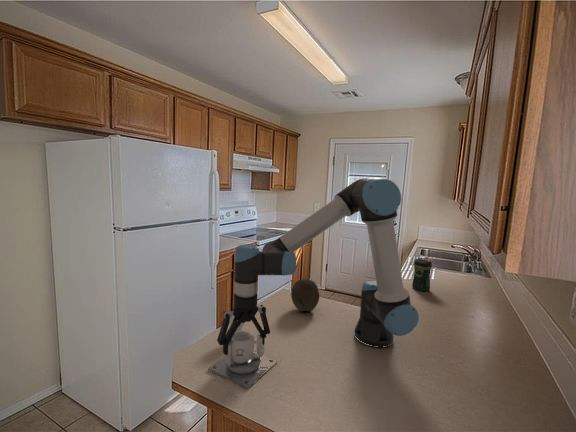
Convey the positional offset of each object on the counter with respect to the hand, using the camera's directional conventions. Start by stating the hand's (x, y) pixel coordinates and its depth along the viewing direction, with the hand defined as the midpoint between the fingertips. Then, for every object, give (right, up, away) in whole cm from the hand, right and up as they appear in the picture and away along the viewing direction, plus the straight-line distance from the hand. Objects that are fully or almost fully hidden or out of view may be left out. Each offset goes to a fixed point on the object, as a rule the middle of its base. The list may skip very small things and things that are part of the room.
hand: (244, 358), depth 96 cm
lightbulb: (-5, -1, +17) cm, 18 cm away
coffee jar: (+96, +2, +84) cm, 127 cm away
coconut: (+22, +1, +46) cm, 51 cm away
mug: (+1, 0, 0) cm, 1 cm away
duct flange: (0, -3, 0) cm, 3 cm away
